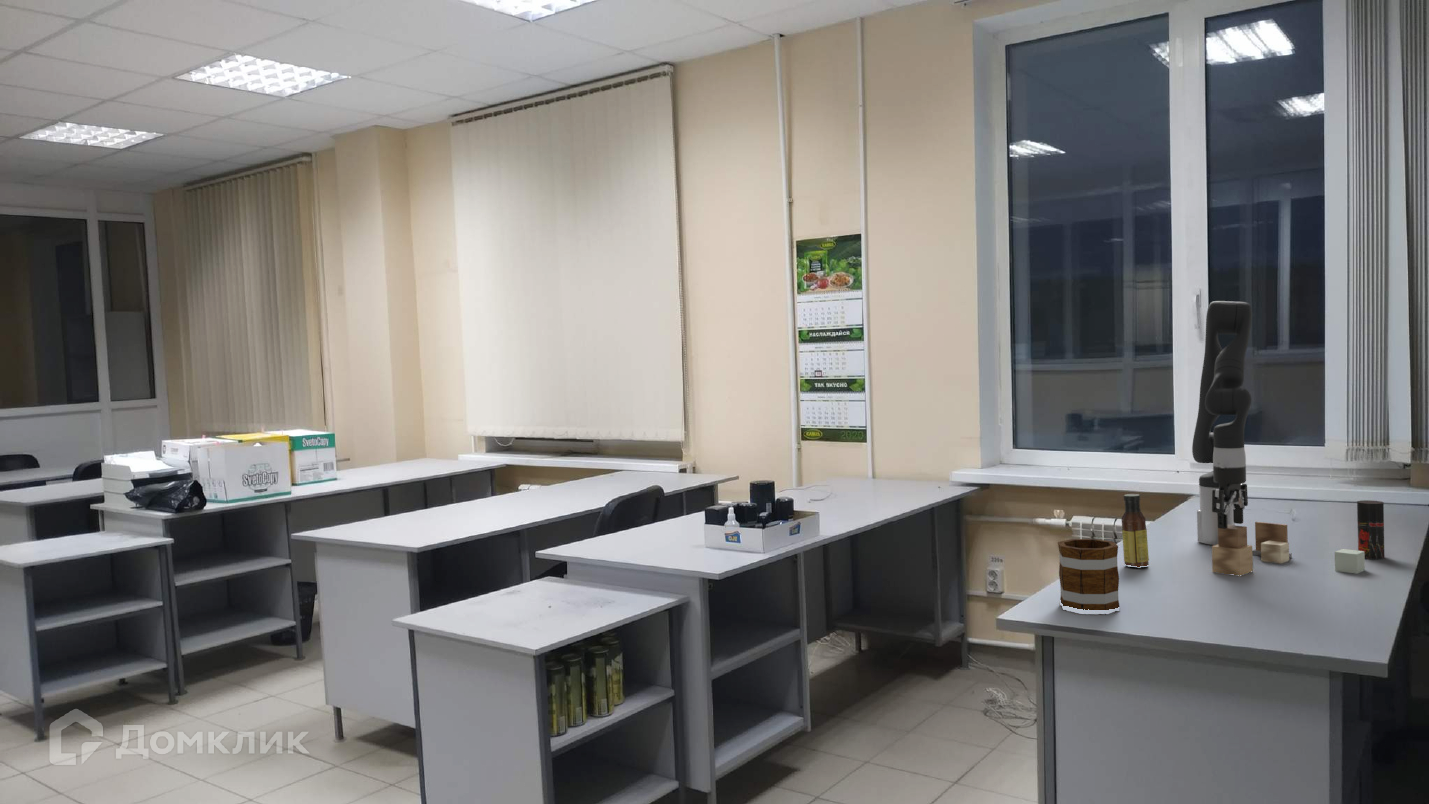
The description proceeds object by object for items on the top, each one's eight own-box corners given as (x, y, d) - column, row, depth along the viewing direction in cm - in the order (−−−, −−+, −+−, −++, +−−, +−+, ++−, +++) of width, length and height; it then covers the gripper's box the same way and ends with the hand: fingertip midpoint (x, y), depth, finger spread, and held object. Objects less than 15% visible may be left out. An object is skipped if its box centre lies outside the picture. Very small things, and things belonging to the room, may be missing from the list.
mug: (1113, 618, 213) (1111, 551, 212) (1051, 611, 221) (1049, 547, 220) (1132, 597, 229) (1130, 536, 228) (1074, 592, 237) (1072, 532, 236)
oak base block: (1212, 572, 250) (1211, 546, 250) (1225, 568, 254) (1224, 542, 254) (1240, 576, 244) (1239, 549, 244) (1252, 572, 248) (1252, 545, 248)
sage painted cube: (1335, 571, 246) (1334, 551, 245) (1342, 567, 249) (1342, 548, 248) (1357, 573, 242) (1356, 554, 241) (1364, 570, 244) (1364, 551, 244)
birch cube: (1261, 561, 260) (1260, 543, 260) (1269, 558, 263) (1269, 540, 263) (1280, 563, 256) (1280, 545, 256) (1289, 560, 259) (1288, 542, 259)
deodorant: (1388, 559, 255) (1387, 503, 254) (1364, 559, 256) (1363, 504, 256) (1378, 554, 261) (1377, 500, 260) (1354, 554, 262) (1353, 500, 261)
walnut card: (1252, 554, 268) (1251, 522, 267) (1257, 553, 269) (1256, 520, 269) (1286, 559, 260) (1286, 525, 260) (1291, 557, 262) (1290, 524, 262)
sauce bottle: (1149, 564, 262) (1147, 493, 261) (1148, 569, 256) (1146, 496, 255) (1123, 563, 264) (1121, 492, 263) (1122, 568, 259) (1120, 496, 258)
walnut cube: (1218, 546, 249) (1217, 527, 249) (1227, 543, 252) (1226, 524, 252) (1238, 548, 245) (1237, 529, 245) (1247, 545, 248) (1246, 526, 248)
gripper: (1227, 460, 255) (1229, 520, 256) (1201, 466, 247) (1202, 528, 248) (1257, 462, 249) (1258, 523, 250) (1230, 468, 241) (1232, 531, 242)
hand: (1230, 525), depth 249 cm, fingers open, 8 cm apart
